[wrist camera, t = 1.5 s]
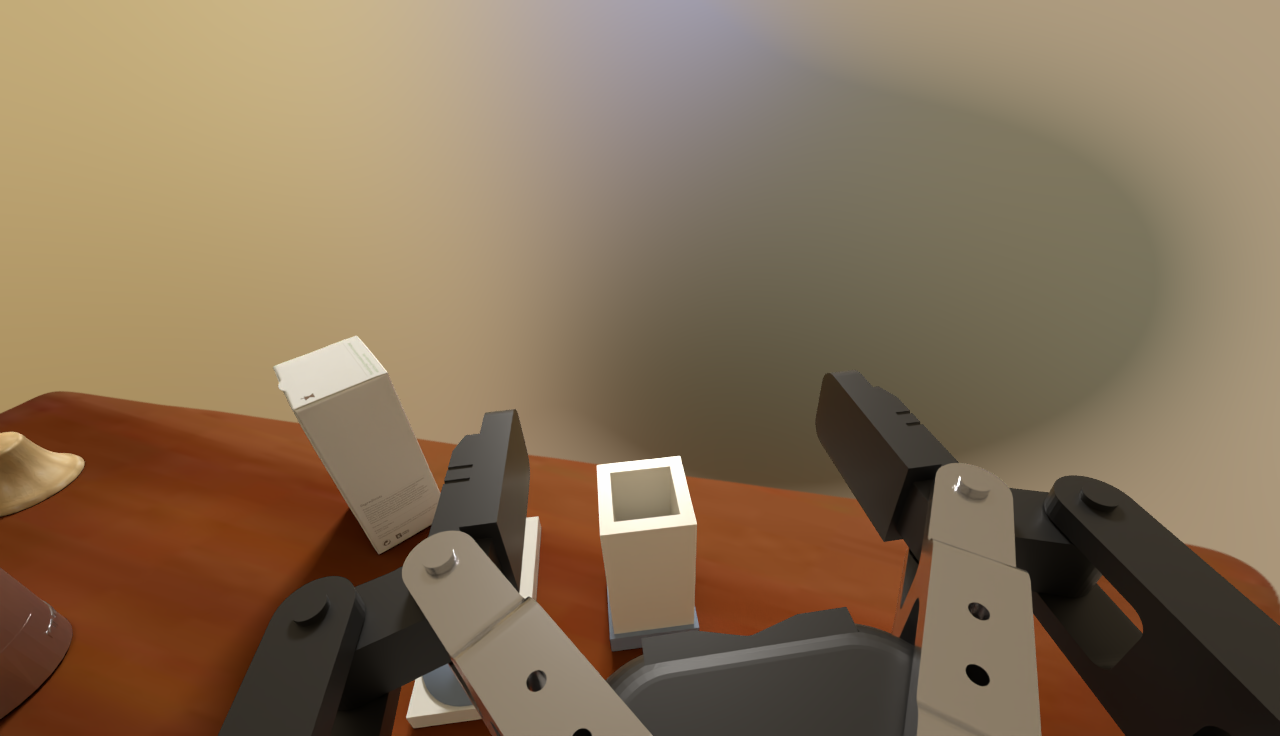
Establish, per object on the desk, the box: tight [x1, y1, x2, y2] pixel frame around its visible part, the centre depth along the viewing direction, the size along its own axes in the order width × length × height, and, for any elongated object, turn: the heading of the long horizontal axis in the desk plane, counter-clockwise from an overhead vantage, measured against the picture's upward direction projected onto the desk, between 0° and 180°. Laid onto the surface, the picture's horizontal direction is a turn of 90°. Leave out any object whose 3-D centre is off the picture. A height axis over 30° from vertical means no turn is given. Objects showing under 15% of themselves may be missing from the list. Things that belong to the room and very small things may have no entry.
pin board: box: [406, 516, 541, 728], centre depth 35 cm, size 14×7×5 cm, turn 6°
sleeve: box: [597, 456, 699, 651], centre depth 33 cm, size 6×6×12 cm
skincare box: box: [273, 336, 440, 554], centre depth 40 cm, size 8×7×16 cm
